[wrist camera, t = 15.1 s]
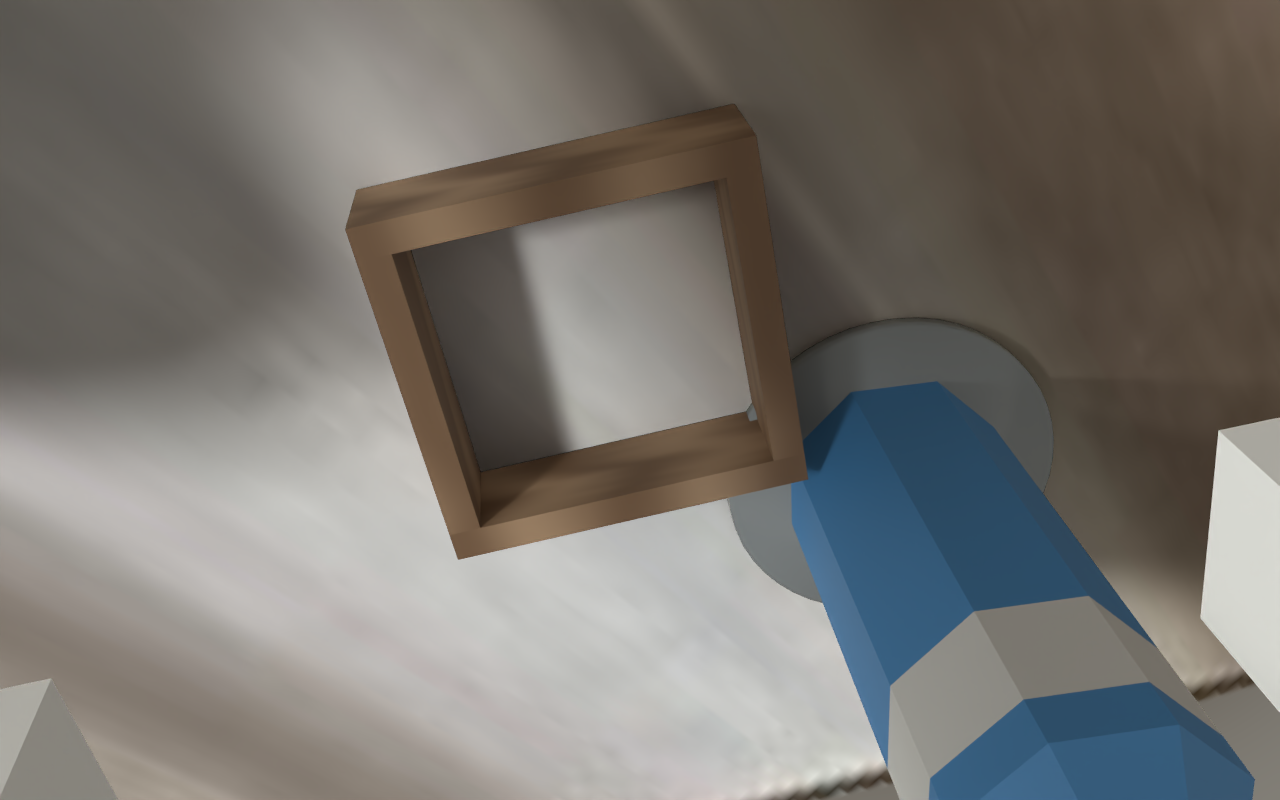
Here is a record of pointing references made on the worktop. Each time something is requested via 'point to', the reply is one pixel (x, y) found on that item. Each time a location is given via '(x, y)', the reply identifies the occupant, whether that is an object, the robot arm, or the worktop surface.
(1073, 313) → the worktop surface
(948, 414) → the water bottle
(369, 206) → the square wooden frame
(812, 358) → the coaster
